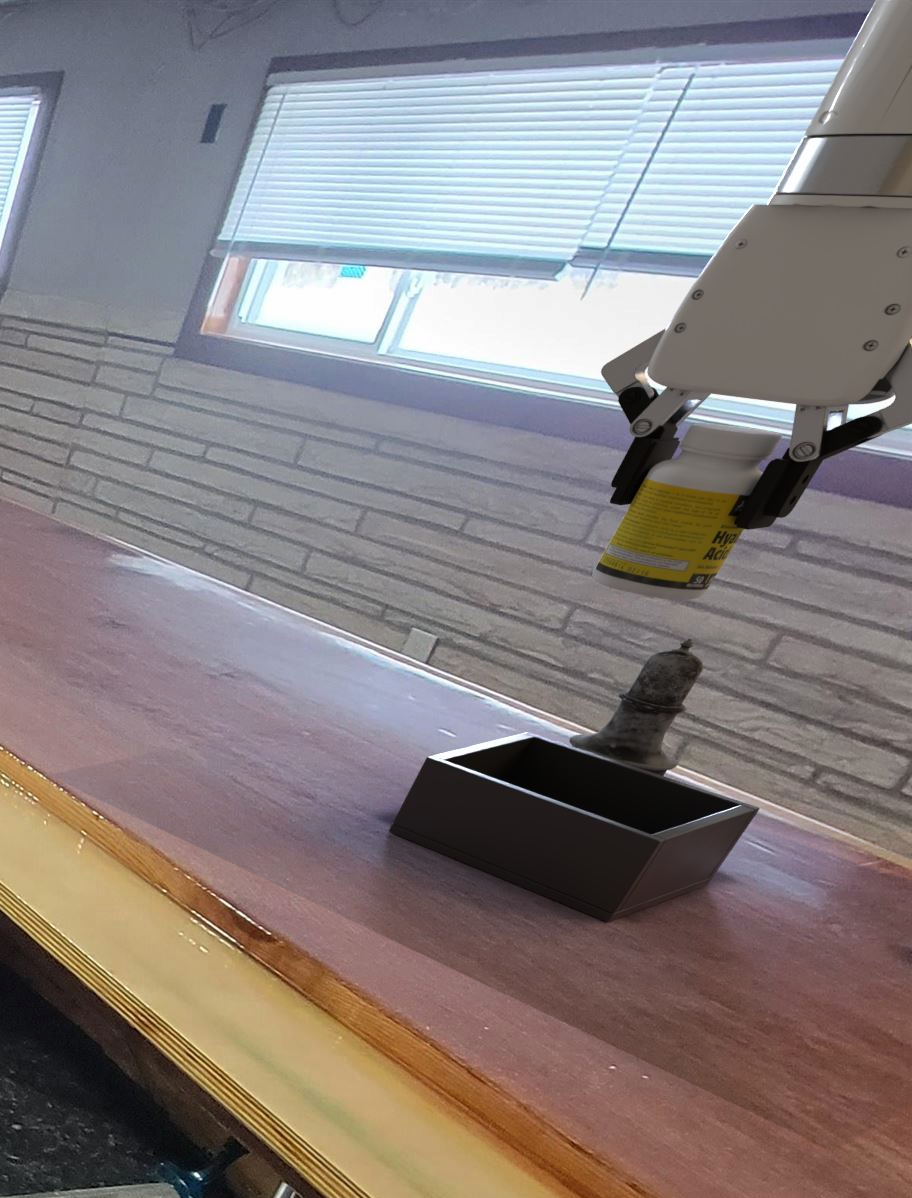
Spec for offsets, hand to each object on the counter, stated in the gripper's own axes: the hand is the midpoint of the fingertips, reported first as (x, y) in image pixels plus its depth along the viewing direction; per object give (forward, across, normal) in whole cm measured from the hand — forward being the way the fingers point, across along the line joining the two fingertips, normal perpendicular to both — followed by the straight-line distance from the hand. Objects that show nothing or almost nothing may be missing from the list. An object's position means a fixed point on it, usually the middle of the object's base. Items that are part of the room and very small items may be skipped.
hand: (689, 511), depth 75 cm
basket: (+21, -4, +5) cm, 22 cm away
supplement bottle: (+5, 0, 0) cm, 5 cm away
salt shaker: (+22, 0, -11) cm, 24 cm away
